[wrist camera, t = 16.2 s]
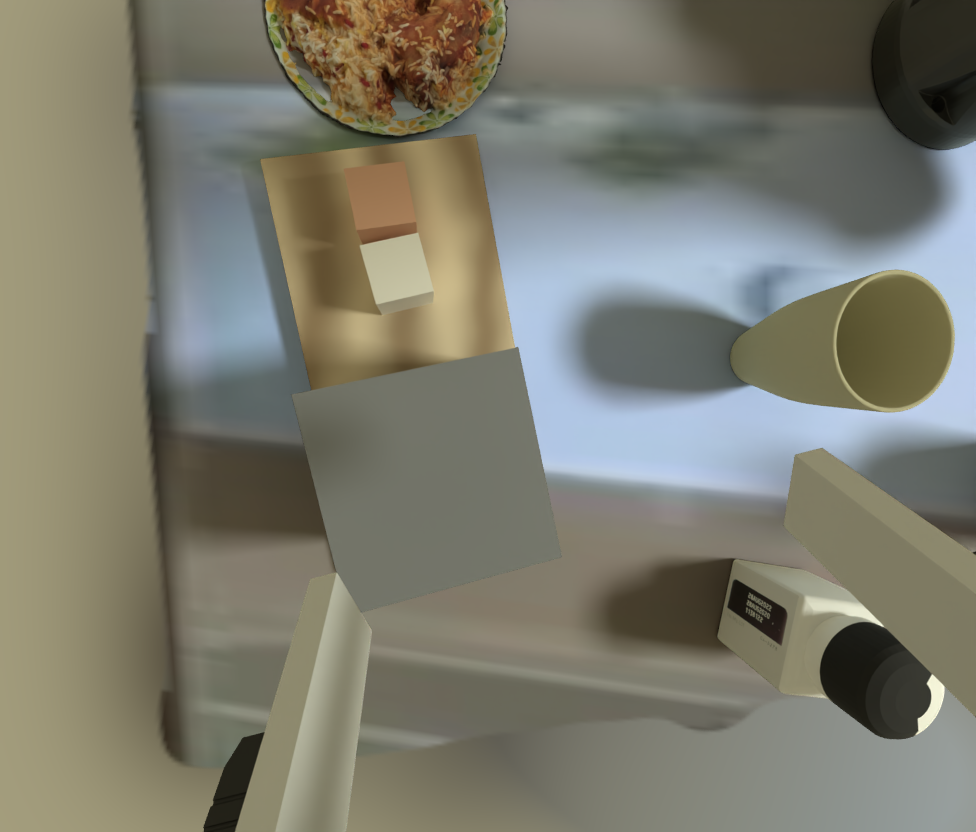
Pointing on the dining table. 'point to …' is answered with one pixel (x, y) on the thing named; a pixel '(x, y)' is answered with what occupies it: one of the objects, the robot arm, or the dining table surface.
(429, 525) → the grey matte cube
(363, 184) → the terracotta block
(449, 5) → the food
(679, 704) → the dining table surface
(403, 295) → the white block
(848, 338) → the mug
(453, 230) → the board
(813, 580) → the container
